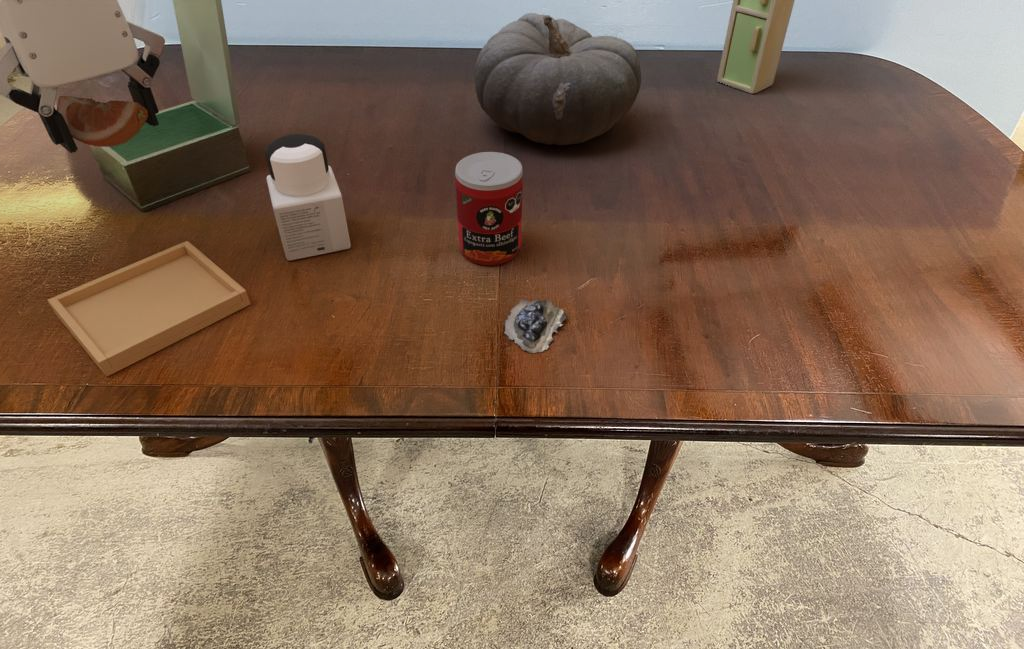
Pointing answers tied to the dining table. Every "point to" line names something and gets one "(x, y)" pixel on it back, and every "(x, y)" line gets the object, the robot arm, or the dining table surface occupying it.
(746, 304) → the dining table surface
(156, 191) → the bin
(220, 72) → the bin lid
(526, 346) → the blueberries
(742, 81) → the toy refrigerator
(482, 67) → the gourd
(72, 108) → the fruit slice
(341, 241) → the container
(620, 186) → the dining table surface
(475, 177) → the canned food
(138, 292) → the tray
